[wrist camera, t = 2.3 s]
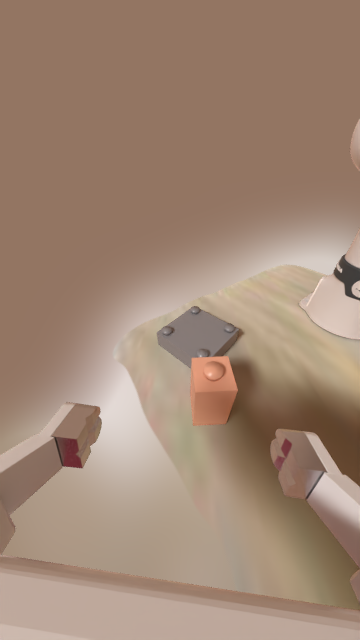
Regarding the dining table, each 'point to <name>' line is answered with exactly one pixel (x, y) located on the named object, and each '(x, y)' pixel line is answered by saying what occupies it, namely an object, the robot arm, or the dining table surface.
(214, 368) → the terracotta brick
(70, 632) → the robot arm
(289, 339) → the dining table surface
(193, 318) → the charcoal base brick
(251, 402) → the dining table surface
